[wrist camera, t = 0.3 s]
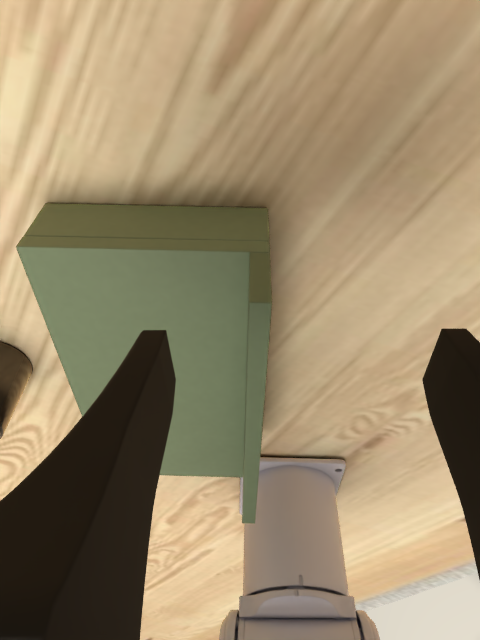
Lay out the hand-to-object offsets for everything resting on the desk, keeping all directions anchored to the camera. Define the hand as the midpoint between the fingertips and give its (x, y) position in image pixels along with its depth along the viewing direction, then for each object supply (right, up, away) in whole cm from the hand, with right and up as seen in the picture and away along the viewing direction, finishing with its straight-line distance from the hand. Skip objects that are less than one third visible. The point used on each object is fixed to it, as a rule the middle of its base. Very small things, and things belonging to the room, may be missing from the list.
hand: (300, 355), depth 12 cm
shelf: (-5, 0, +14) cm, 15 cm away
